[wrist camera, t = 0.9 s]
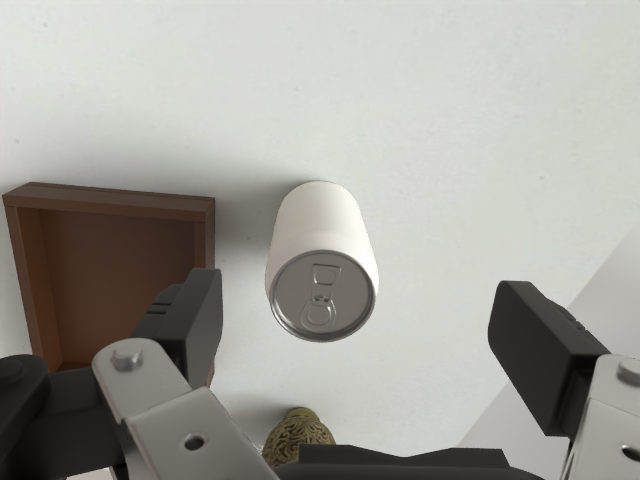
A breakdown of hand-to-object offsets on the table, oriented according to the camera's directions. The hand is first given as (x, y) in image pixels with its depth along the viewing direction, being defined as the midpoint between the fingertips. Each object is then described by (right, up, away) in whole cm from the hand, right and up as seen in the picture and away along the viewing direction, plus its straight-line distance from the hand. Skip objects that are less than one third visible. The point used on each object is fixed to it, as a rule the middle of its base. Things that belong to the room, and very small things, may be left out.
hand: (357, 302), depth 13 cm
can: (-1, +4, +22) cm, 22 cm away
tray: (-17, -2, +24) cm, 29 cm away
